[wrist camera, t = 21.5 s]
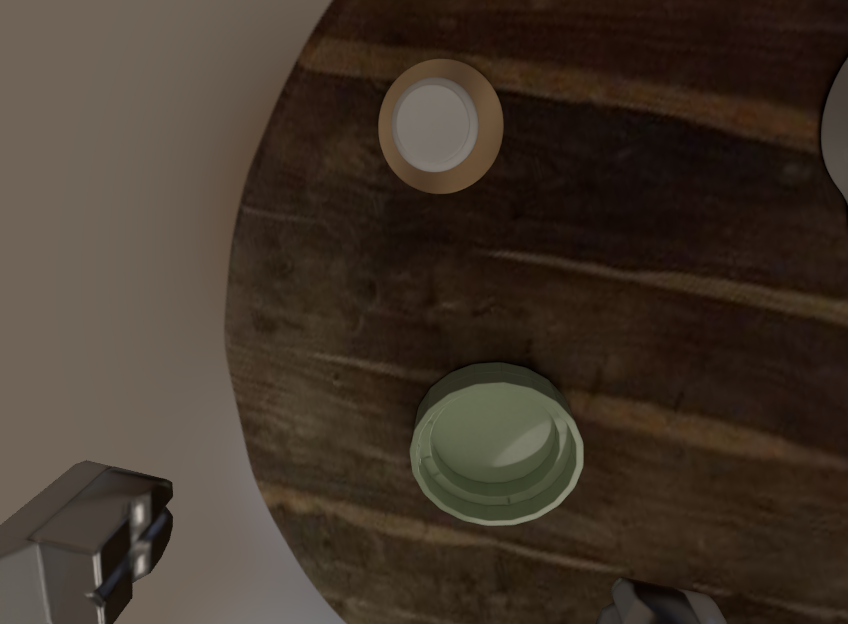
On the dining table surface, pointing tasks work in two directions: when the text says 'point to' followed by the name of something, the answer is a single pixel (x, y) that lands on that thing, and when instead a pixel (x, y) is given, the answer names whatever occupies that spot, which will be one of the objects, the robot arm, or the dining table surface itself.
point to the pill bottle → (434, 124)
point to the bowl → (495, 445)
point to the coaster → (487, 131)
